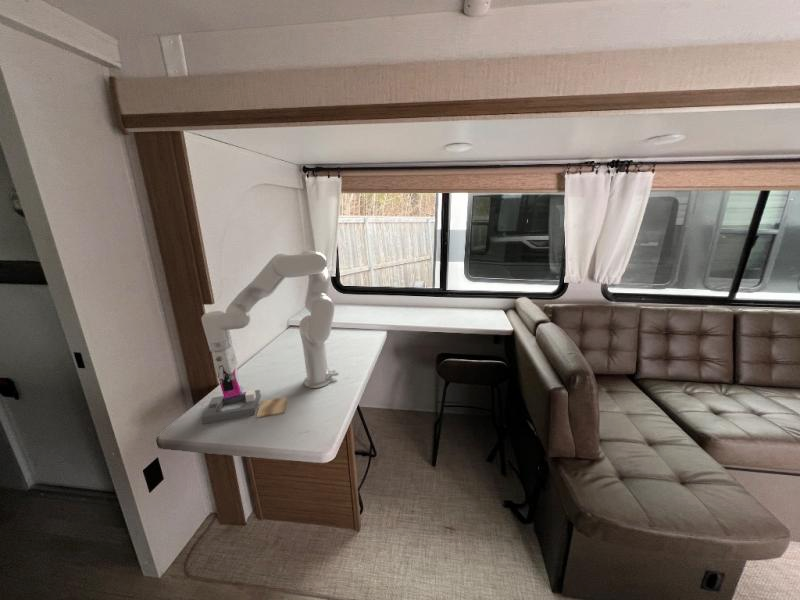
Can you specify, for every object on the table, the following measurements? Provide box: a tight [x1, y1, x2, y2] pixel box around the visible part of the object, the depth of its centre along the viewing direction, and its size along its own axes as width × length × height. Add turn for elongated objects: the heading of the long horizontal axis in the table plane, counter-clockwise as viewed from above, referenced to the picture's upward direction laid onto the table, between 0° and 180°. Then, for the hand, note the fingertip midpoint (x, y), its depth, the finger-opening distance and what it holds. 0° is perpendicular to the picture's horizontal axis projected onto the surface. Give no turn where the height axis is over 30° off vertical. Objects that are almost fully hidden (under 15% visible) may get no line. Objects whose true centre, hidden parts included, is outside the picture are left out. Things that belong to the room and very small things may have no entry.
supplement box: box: [216, 366, 244, 400], centre depth 115 cm, size 6×6×12 cm
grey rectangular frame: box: [200, 389, 262, 425], centre depth 117 cm, size 18×13×6 cm
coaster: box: [256, 397, 287, 419], centre depth 118 cm, size 10×10×1 cm
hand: (231, 385), depth 116 cm, fingers closed on supplement box, 6 cm apart
